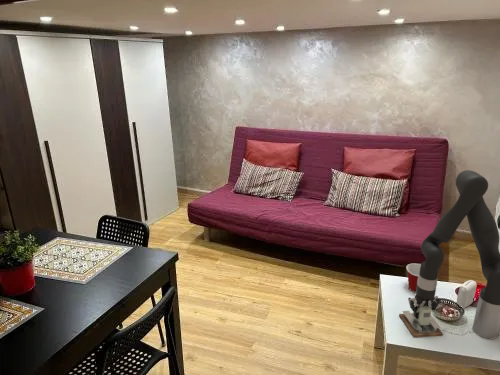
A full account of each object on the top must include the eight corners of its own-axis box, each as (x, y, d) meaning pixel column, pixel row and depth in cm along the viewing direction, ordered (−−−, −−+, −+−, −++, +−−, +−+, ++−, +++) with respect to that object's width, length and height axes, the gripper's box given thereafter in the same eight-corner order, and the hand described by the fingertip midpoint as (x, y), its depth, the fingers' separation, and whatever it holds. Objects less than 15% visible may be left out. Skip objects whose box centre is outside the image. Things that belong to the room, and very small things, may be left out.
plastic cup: (406, 294, 185) (409, 274, 181) (401, 282, 195) (403, 262, 191) (429, 295, 184) (432, 275, 180) (422, 283, 194) (425, 263, 190)
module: (421, 314, 166) (423, 299, 163) (429, 325, 159) (432, 310, 156) (412, 314, 166) (415, 300, 163) (421, 326, 159) (423, 311, 156)
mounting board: (426, 314, 171) (426, 312, 170) (442, 335, 157) (443, 333, 157) (399, 316, 170) (399, 313, 170) (413, 337, 157) (413, 335, 156)
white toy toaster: (465, 297, 182) (469, 276, 178) (474, 302, 178) (479, 280, 174) (454, 305, 176) (458, 283, 172) (463, 310, 173) (468, 288, 169)
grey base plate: (425, 313, 169) (426, 309, 168) (440, 332, 158) (440, 327, 157) (401, 315, 169) (402, 311, 168) (414, 333, 157) (415, 329, 157)
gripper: (414, 291, 153) (409, 324, 158) (447, 289, 153) (441, 322, 159) (406, 280, 160) (402, 312, 165) (437, 279, 160) (432, 311, 166)
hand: (421, 317), depth 162 cm, fingers closed on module, 4 cm apart
